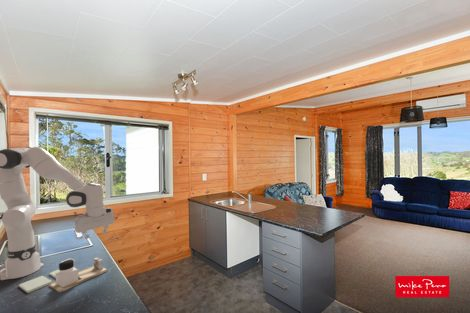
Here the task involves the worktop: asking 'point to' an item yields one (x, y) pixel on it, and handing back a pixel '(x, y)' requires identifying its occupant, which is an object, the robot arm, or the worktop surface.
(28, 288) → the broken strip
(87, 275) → the birch strip
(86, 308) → the worktop surface
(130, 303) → the worktop surface
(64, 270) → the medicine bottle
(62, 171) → the robot arm
